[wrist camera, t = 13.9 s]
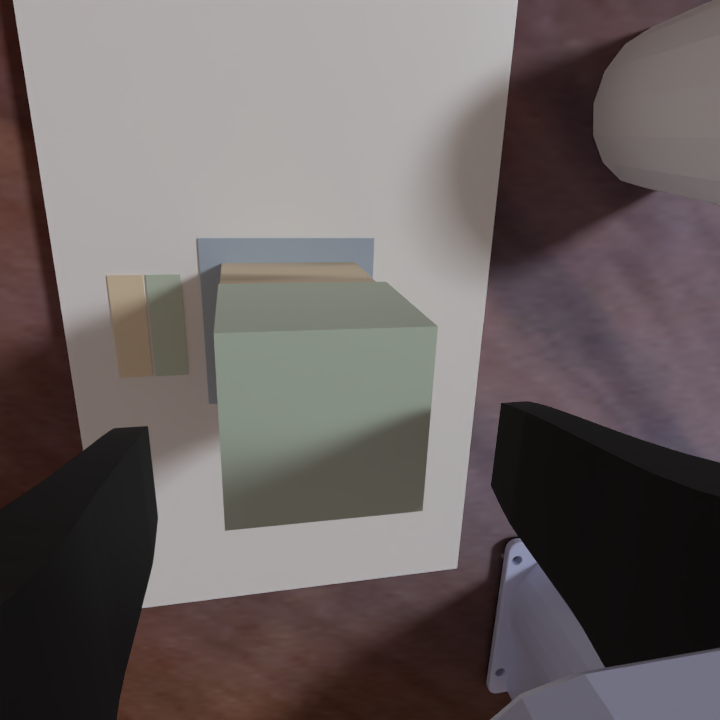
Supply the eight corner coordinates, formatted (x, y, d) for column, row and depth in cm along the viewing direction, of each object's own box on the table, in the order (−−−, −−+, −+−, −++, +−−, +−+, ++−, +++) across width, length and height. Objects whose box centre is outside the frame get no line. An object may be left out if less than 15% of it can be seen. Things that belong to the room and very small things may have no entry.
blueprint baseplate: (452, 559, 27) (457, 569, 26) (111, 601, 24) (107, 613, 23) (514, -46, 18) (524, -53, 18) (4, -102, 15) (-6, -112, 15)
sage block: (379, 428, 18) (422, 511, 14) (226, 438, 17) (225, 530, 13) (386, 281, 16) (438, 326, 12) (218, 283, 15) (213, 333, 11)
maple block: (351, 382, 22) (378, 435, 18) (228, 388, 21) (227, 446, 17) (354, 262, 20) (385, 290, 16) (221, 263, 19) (218, 293, 15)
